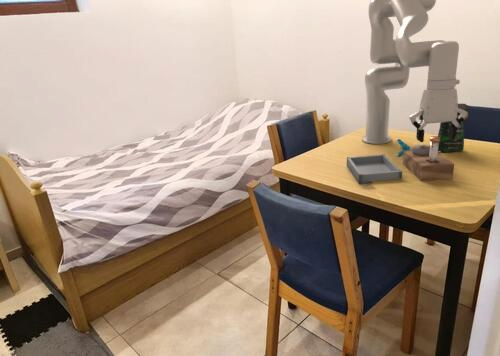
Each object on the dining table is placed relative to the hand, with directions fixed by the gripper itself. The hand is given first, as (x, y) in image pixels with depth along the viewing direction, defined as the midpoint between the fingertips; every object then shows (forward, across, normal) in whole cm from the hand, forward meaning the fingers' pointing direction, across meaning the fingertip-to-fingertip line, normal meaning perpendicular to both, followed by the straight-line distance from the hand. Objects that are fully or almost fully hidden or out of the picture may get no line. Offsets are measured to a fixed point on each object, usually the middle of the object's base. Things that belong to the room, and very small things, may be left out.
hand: (435, 139), depth 116 cm
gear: (+13, 0, -22) cm, 26 cm away
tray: (+13, +17, -9) cm, 23 cm away
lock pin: (+12, 0, -1) cm, 12 cm away
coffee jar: (+13, -18, -26) cm, 34 cm away
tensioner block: (+13, 0, -5) cm, 14 cm away
